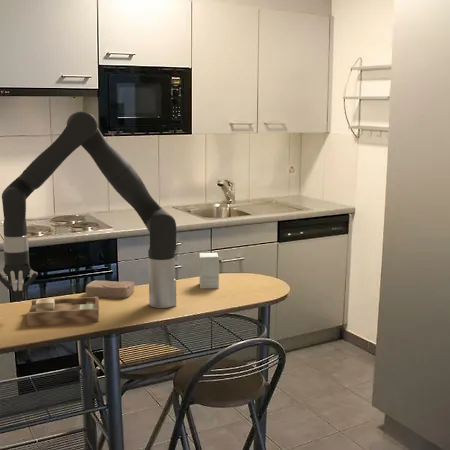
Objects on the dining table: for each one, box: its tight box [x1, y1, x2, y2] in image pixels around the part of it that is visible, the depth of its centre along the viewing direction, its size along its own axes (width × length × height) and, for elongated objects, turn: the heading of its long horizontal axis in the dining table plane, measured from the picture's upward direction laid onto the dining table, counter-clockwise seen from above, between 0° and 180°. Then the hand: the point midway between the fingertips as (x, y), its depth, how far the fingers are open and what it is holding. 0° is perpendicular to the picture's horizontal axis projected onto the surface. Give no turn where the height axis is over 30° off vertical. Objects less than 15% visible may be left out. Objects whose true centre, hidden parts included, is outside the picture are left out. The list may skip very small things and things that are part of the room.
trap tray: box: [26, 296, 100, 327], centre depth 202 cm, size 22×14×4 cm, turn 101°
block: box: [36, 298, 55, 312], centre depth 201 cm, size 6×4×3 cm
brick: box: [85, 279, 135, 299], centre depth 228 cm, size 17×8×5 cm, turn 79°
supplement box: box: [198, 252, 220, 290], centre depth 238 cm, size 7×7×13 cm
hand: (18, 301), depth 199 cm, fingers closed
